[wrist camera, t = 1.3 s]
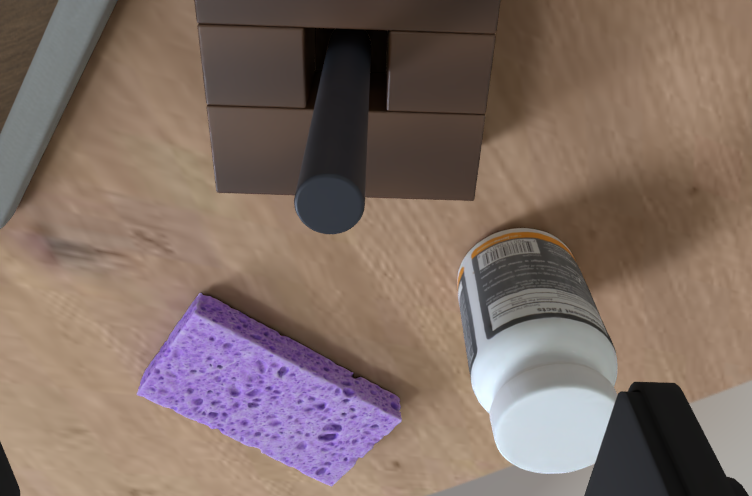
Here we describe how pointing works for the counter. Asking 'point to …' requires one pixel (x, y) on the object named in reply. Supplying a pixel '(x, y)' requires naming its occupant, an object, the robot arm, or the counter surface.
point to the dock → (386, 94)
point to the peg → (337, 138)
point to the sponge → (268, 391)
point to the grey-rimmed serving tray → (39, 80)
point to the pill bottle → (536, 350)
